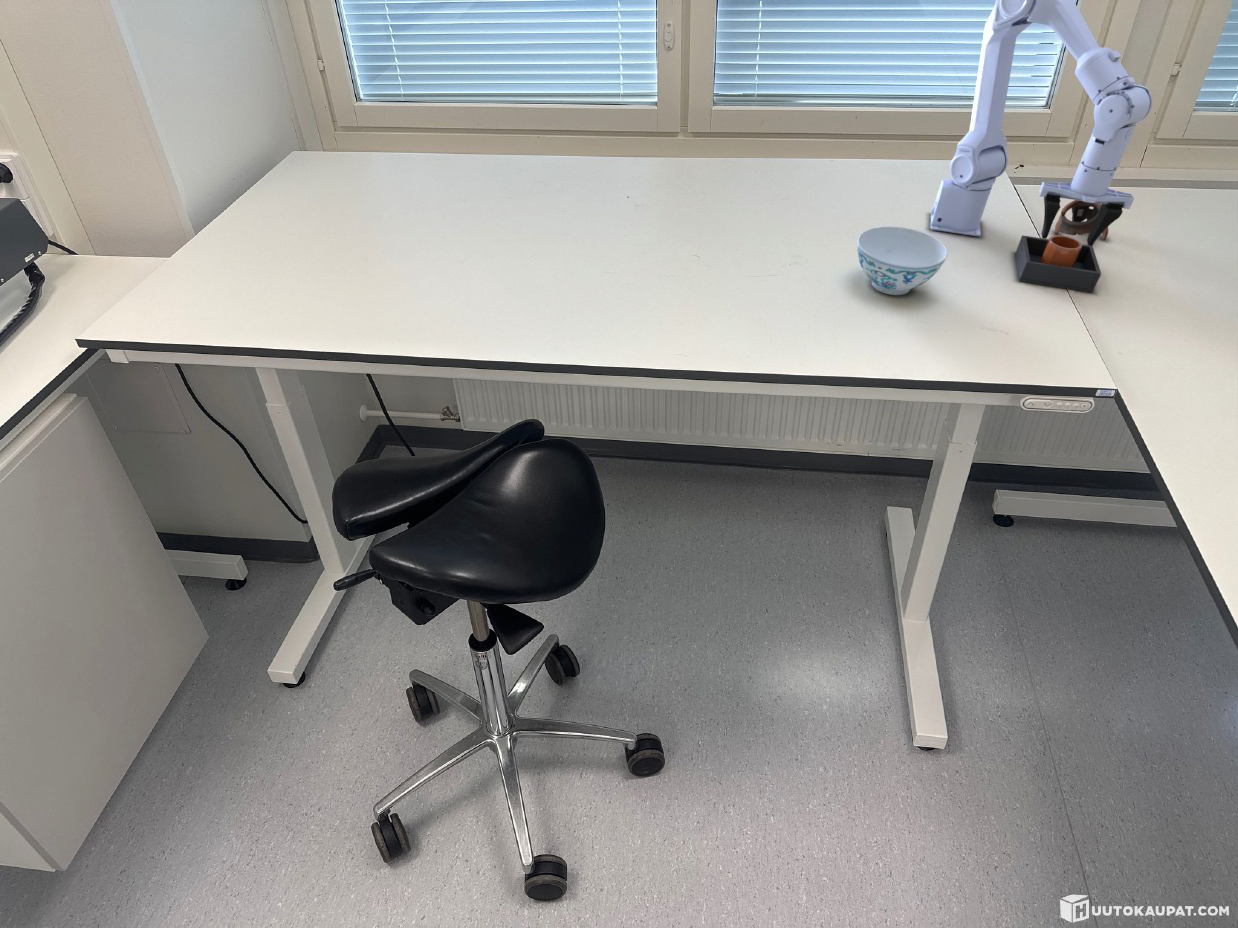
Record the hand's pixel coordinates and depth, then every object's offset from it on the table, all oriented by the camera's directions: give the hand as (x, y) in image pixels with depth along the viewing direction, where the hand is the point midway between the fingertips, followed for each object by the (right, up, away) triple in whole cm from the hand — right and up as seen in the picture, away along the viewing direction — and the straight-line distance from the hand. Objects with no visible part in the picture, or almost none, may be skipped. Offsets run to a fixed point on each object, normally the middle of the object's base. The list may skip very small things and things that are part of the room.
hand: (1066, 239), depth 144 cm
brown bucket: (0, -5, +4) cm, 6 cm away
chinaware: (-32, -9, -1) cm, 33 cm away
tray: (0, -5, +4) cm, 7 cm away
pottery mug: (+12, +6, +17) cm, 22 cm away
